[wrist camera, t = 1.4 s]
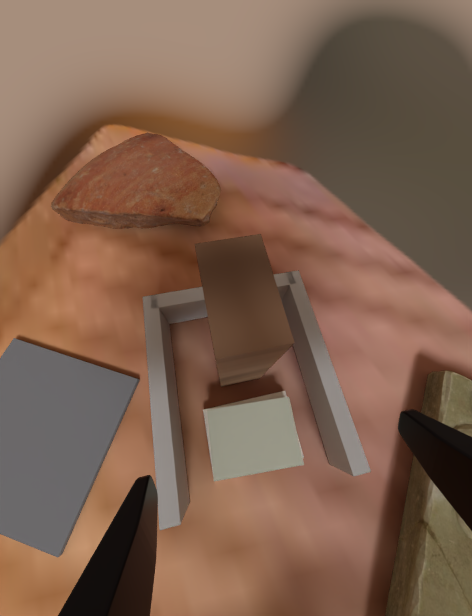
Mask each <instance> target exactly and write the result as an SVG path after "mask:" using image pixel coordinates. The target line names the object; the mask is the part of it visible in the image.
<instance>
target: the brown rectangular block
mask: <svg viewBox="0 0 472 616" xmlns="http://www.w3.org/2000/svg"><path fill="white" fill-rule="evenodd" d="M195 249H196V254H197V260H198V265H199V271H200V277H201V282H202V288H203V293H204V299H205V304H206V310H207V315H208V321H209V327H210V332H211V338H212V343H213V349H214V354H215V360H216V364H217V369H218V374H219V379H220V383H221V386H226V385H231V384H235V383H240V382H244V381H249V380H254V379H258V378H261V377H262V376H263V375H264V374H265V373H266V372H267V370H268V369H269V368H270V367H271V366H272V365H273V364H274V363H275V362H276V361H277V360H278V359H279V358H280V357H281V356H282V355H283V354H284V353H285V352H286V351H287V350H288V349H289V348H290V347H291V346H292V345H293V344H294V343H295V342H294V339H293V336H292V333H291V330H290V326H289V323H288V320H287V317H286V314H285V310H284V307H283V304H282V301H281V297H280V294H279V291H278V288H277V285H276V281H275V278H274V275H273V272H272V269H271V265H270V262H269V259H268V256H267V253H266V249H265V246H264V243H263V240H262V237H261V234H258V235H251V236H244V237H238V238H231V239H224V240H217V241H211V242H204V243H197V244H195Z"/></svg>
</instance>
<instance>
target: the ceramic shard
mask: <svg viewBox="0 0 472 616" xmlns="http://www.w3.org/2000/svg"><path fill="white" fill-rule="evenodd" d="M220 191H221V190H220V185H219V183H218V181H217V179H216V178H215V177H214V175H213V174H212V173H211V172H210V171H209V170H208V169H207V168H206V167H204V166H203V164H201V163H200V162H199V161H198V160H196V159H195V158H193V157H192V156H190V155H189V154H187V153H186V152H184V151H182V150H181V149H180V148H179V147H178V146H176V145H175V144H173V143H172V142H171V141H169V140H168V139H167V138H165V137H163V136H161V135H158V134H150V133H145V134H141V135H138V136H135V137H133V138H130V139H129V140H125V141H124V142H122V143H121V144H118V145H117V146H115V147H112V148H110V149H108V150H107V151H105V152H103V153H101V154H100V155H98V156H97V157H96V158H94V159H93V160H91V161H90V162H89V163H87V164H86V165H85V166H84V167H83V168H82V169H81V170H79V171H78V172H77V173H76V174H75V175H74V176H73V177H72V178H71V179H70V180H69V181H68V182H67V184H66V185H65V186H64V187H63V188H62V190H61V191H60V192H59V193H58V194H57V196H56V197H55V199H54V200H53V202H52V203H51V207H52V209H53V210H54V211H55V212H57V213H58V214H60V216H61V217H63V218H64V219H66V220H68V221H72V222H75V223H81V224H83V223H87V224H93V225H101V226H104V227H110V228H115V229H122V228H131V227H138V228H152V227H157V226H162V225H167V224H175V223H180V224H187V225H194V226H202V225H205V224H206V223H208V222H209V218H210V215H211V212H212V211H213V209H214V208H215V207H216V205H217V201H218V198H219V195H220Z"/></svg>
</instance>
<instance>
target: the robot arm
mask: <svg viewBox="0 0 472 616" xmlns="http://www.w3.org/2000/svg"><path fill="white" fill-rule="evenodd" d="M398 430H399V433H400V435H401V436H402V438H403V439H404V441H405V442H406V444H407V445H408V447H409V448H410V450H411V451H412V453H413V454H414V456H415V457H416V459H417V460H418V462H419V463H420V465H421V466H422V468H423V469H424V471H425V472H426V473H427V475H428V476H429V478H430V479H431V480H432V482H433V483H434V484H435V486H436V487H437V488H438V489H439V491H440V492H441V493H442V494H443V496H444V497H445V498H446V499H447V501H448V502H449V503H450V504H451V506H452V507H453V508H454V509H455V511H456V512H457V513H458V515H459V516H460V517H461V518H462V520H463V521H464V522H465V523H466V525H467V526H468V527H469V528H470V530H471V531H472V437H471V436H469V435H467V434H465V433H462V432H460V431H458V430H456V429H454V428H452V427H450V426H448V425H446V424H444V423H441V422H439V421H437V420H435V419H433V418H431V417H429V416H427V415H425V414H422V413H420V412H418V411H416V410H413V409H409V410H405V411H402V412H401V414H400V418H399V424H398ZM157 508H158V494H157V489H156V487H155V484H154V482H153V479H152V477H151V476H150V475H147V476H143V477H139V478H138V479H137V480H136V481H135V483H134V484H133V486H132V488H131V490H130V491H129V493H128V495H127V497H126V498H125V500H124V502H123V503H122V505H121V507H120V509H119V510H118V512H117V514H116V516H115V517H114V519H113V521H112V523H111V524H110V526H109V528H108V530H107V531H106V533H105V535H104V537H103V538H102V540H101V542H100V543H99V545H98V547H97V549H96V550H95V552H94V554H93V556H92V557H91V559H90V561H89V563H88V564H87V566H86V568H85V570H84V571H83V573H82V575H81V577H80V578H79V580H78V582H77V583H76V585H75V587H74V589H73V590H72V592H71V594H70V596H69V597H68V599H67V601H66V603H65V604H64V606H63V608H62V610H61V611H60V613H59V615H58V616H150V609H151V600H152V592H153V583H154V574H155V564H156V548H157Z"/></svg>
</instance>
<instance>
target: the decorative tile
mask: <svg viewBox="0 0 472 616" xmlns="http://www.w3.org/2000/svg"><path fill="white" fill-rule="evenodd" d="M421 413H422V414H425V415H427V416H429V417H431V418H433V419H435V420H437V421H439V422H441V423H444V424H446V425H448V426H450V427H452V428H454V429H456V430H458V431H460V432H462V433H465V434H467V435H469V436H471V437H472V380H470V379H468V378H466V377H464V376H462V375H459V374H457V373H455V372H452V371H448V370H445V371H440V372H431V373H430V374H428V377H427V383H426V388H425V393H424V400H423V405H422V410H421ZM385 616H472V531H471V530H470V528H469V527H468V526H467V525H466V523H465V522H464V521H463V520H462V518H461V517H460V516H459V515H458V513H457V512H456V511H455V509H454V508H453V507H452V506H451V504H450V503H449V502H448V501H447V499H446V498H445V497H444V496H443V494H442V493H441V492H440V491H439V489H438V488H437V487H436V486H435V484H434V483H433V482H432V480H431V479H430V478H429V476H428V475H427V473H426V472H425V471H424V469H423V468H422V466H421V465H420V463H419V462H418V460H417V459H416V457H415V456H413V461H412V467H411V472H410V478H409V484H408V490H407V495H406V501H405V507H404V512H403V518H402V524H401V530H400V535H399V541H398V546H397V552H396V557H395V563H394V568H393V573H392V579H391V586H390V590H389V596H388V602H387V608H386V613H385Z"/></svg>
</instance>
